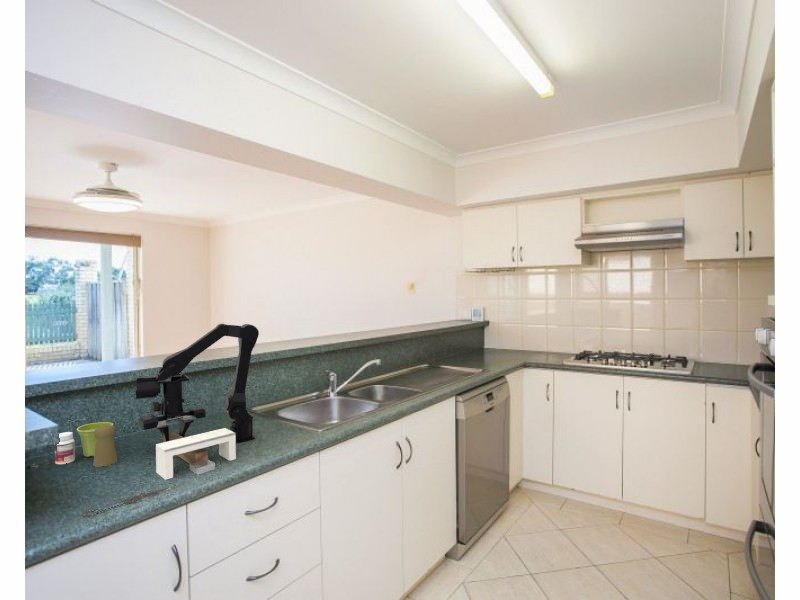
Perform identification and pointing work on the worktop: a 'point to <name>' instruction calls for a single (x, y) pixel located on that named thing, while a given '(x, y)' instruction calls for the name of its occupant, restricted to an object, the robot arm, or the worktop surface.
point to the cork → (104, 446)
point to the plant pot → (89, 437)
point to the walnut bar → (191, 455)
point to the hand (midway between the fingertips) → (173, 443)
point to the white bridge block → (194, 448)
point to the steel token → (202, 466)
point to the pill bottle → (65, 448)
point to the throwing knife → (130, 500)
